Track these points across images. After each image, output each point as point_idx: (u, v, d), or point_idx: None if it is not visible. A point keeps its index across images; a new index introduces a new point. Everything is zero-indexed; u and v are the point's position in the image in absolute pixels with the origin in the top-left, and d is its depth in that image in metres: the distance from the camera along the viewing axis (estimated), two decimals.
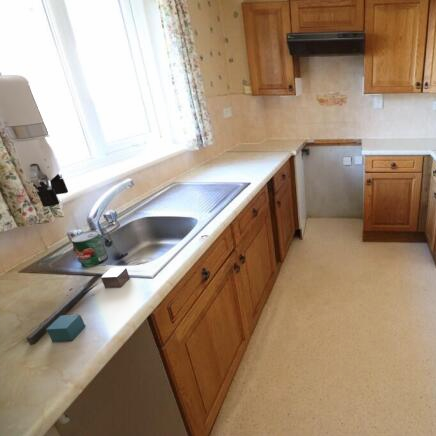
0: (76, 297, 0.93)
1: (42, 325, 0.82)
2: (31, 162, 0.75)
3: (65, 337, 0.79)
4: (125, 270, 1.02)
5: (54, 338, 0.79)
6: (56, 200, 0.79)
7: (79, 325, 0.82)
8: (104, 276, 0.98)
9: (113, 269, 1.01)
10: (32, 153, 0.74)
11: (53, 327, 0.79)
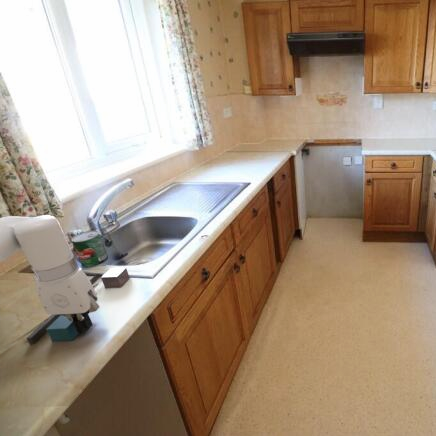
0: None
1: (42, 325, 0.82)
2: (87, 290, 0.76)
3: (65, 337, 0.79)
4: (125, 270, 1.02)
5: (54, 338, 0.79)
6: None
7: None
8: (104, 276, 0.98)
9: (113, 269, 1.01)
10: (86, 281, 0.76)
11: (53, 327, 0.79)
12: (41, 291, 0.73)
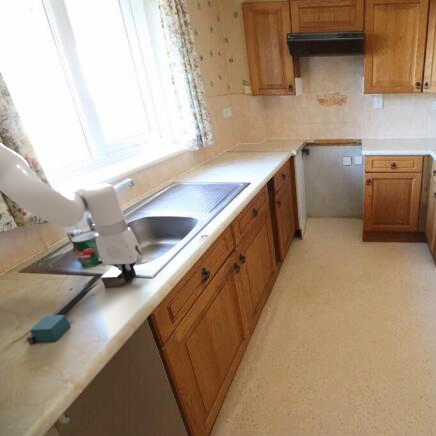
0: (76, 297, 0.93)
1: None
2: (135, 245, 0.96)
3: (49, 338, 0.79)
4: None
5: (38, 339, 0.79)
6: None
7: (64, 326, 0.82)
8: (104, 276, 0.98)
9: (113, 269, 1.01)
10: (133, 238, 0.96)
11: (37, 327, 0.79)
12: (99, 244, 0.93)
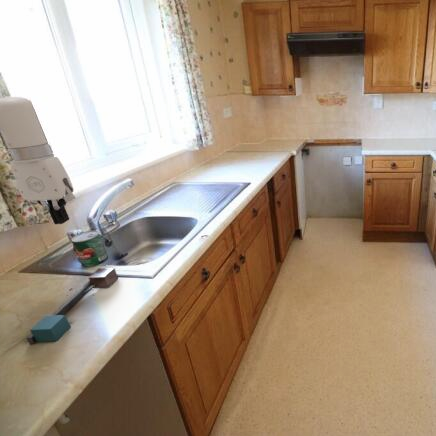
0: (76, 297, 0.93)
1: None
2: (62, 177, 0.79)
3: (49, 338, 0.79)
4: (113, 270, 1.02)
5: (38, 339, 0.79)
6: None
7: (64, 326, 0.82)
8: (92, 276, 0.98)
9: (101, 269, 1.02)
10: (61, 168, 0.79)
11: (37, 327, 0.79)
12: (16, 173, 0.76)
